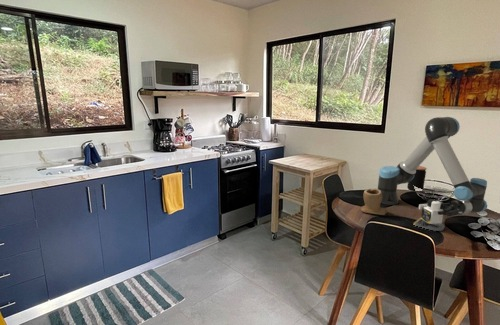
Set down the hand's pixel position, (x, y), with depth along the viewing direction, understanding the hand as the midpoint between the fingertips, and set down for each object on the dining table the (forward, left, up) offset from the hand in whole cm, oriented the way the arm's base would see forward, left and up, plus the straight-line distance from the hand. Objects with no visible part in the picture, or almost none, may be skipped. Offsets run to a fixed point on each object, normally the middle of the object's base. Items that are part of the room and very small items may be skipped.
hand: (425, 209), depth 155 cm
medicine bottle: (+2, +4, -7) cm, 9 cm away
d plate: (+2, +4, -10) cm, 11 cm away
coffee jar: (-26, +67, -10) cm, 73 cm away
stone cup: (-27, -2, -10) cm, 29 cm away
